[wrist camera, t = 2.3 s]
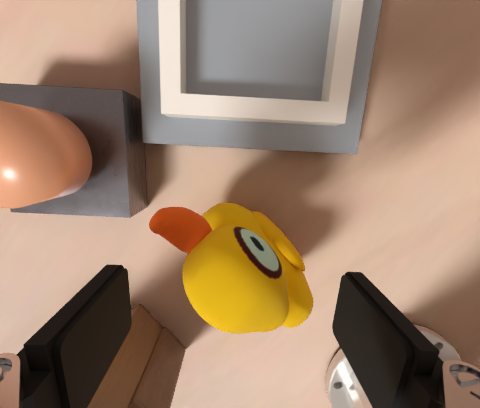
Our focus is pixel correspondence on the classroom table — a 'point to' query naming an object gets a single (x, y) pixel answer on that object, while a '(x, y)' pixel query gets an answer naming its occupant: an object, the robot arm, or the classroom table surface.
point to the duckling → (237, 268)
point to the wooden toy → (142, 367)
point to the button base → (95, 147)
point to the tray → (256, 72)
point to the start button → (39, 156)
